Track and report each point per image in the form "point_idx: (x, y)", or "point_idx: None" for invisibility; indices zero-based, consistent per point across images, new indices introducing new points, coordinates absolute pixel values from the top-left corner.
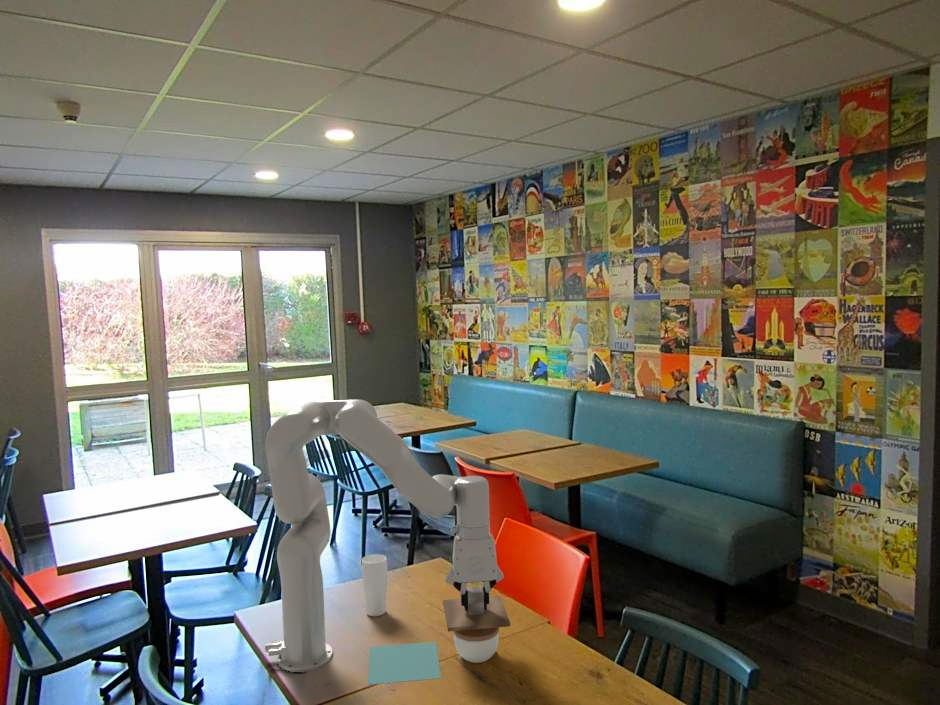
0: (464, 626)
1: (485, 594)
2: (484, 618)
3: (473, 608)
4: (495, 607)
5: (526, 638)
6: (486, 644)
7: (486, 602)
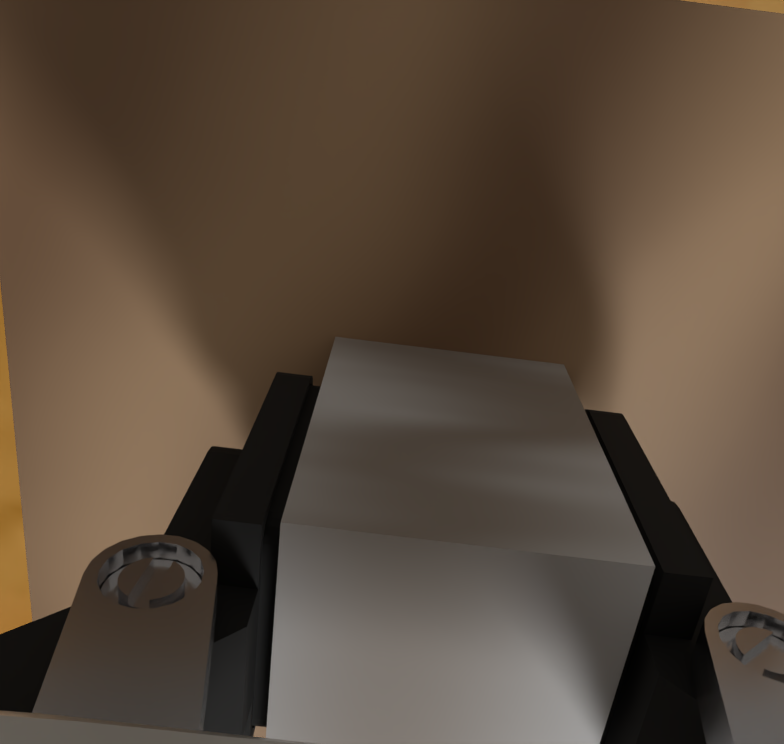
0: (761, 15)
1: (243, 506)
2: (363, 197)
3: (499, 395)
4: (139, 466)
5: (6, 415)
6: None
7: (261, 417)
